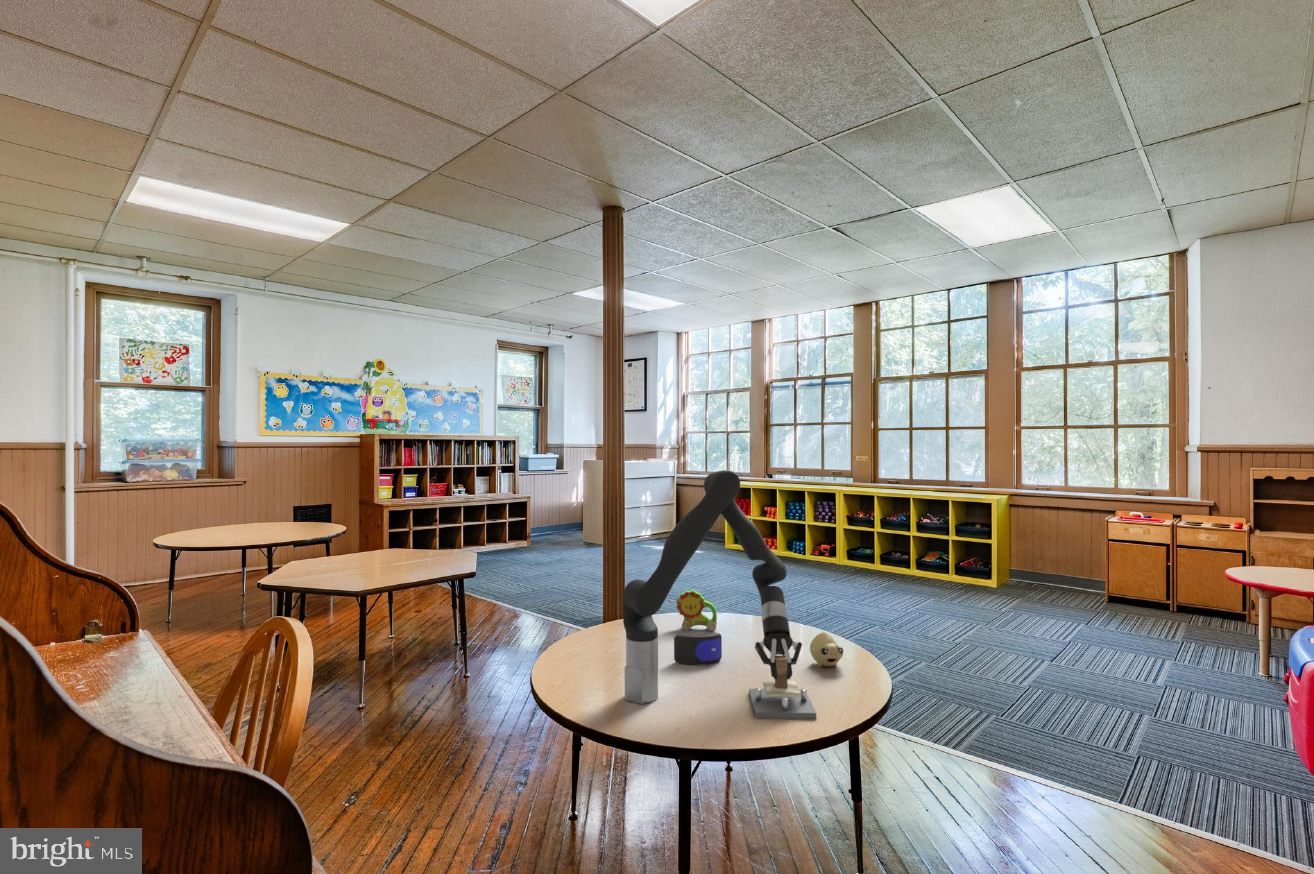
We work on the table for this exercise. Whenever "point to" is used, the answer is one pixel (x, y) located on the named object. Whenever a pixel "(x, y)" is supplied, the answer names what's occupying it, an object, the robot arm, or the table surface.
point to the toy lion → (695, 610)
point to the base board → (773, 706)
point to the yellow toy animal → (825, 650)
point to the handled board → (781, 691)
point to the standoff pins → (784, 700)
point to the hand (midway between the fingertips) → (782, 677)
